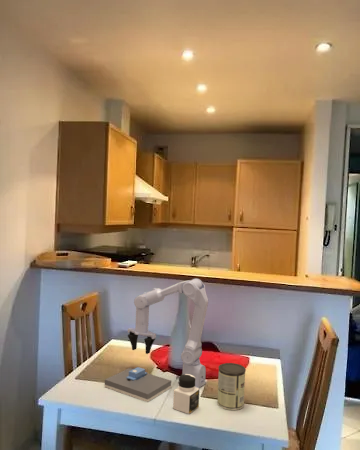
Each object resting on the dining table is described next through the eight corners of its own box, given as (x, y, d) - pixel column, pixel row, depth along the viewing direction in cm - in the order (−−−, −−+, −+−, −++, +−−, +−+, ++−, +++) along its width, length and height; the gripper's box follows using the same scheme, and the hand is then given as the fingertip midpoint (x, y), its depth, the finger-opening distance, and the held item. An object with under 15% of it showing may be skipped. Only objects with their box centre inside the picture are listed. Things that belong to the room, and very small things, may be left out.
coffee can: (218, 396, 164) (220, 361, 163) (244, 400, 161) (246, 364, 161) (215, 408, 154) (216, 371, 153) (242, 412, 151) (244, 374, 151)
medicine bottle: (189, 414, 148) (190, 381, 148) (172, 408, 152) (174, 376, 151) (199, 407, 154) (200, 375, 154) (182, 401, 158) (184, 370, 157)
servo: (147, 378, 176) (147, 367, 175) (132, 385, 167) (133, 374, 167) (139, 376, 178) (140, 365, 178) (125, 383, 170) (125, 372, 169)
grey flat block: (171, 387, 170) (171, 380, 170) (147, 402, 156) (148, 394, 156) (129, 374, 181) (129, 367, 181) (104, 386, 168) (104, 379, 168)
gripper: (123, 320, 184) (122, 350, 185) (149, 326, 176) (148, 357, 177) (133, 317, 190) (132, 346, 191) (159, 322, 182) (158, 353, 183)
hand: (140, 351), depth 184 cm, fingers open, 7 cm apart
